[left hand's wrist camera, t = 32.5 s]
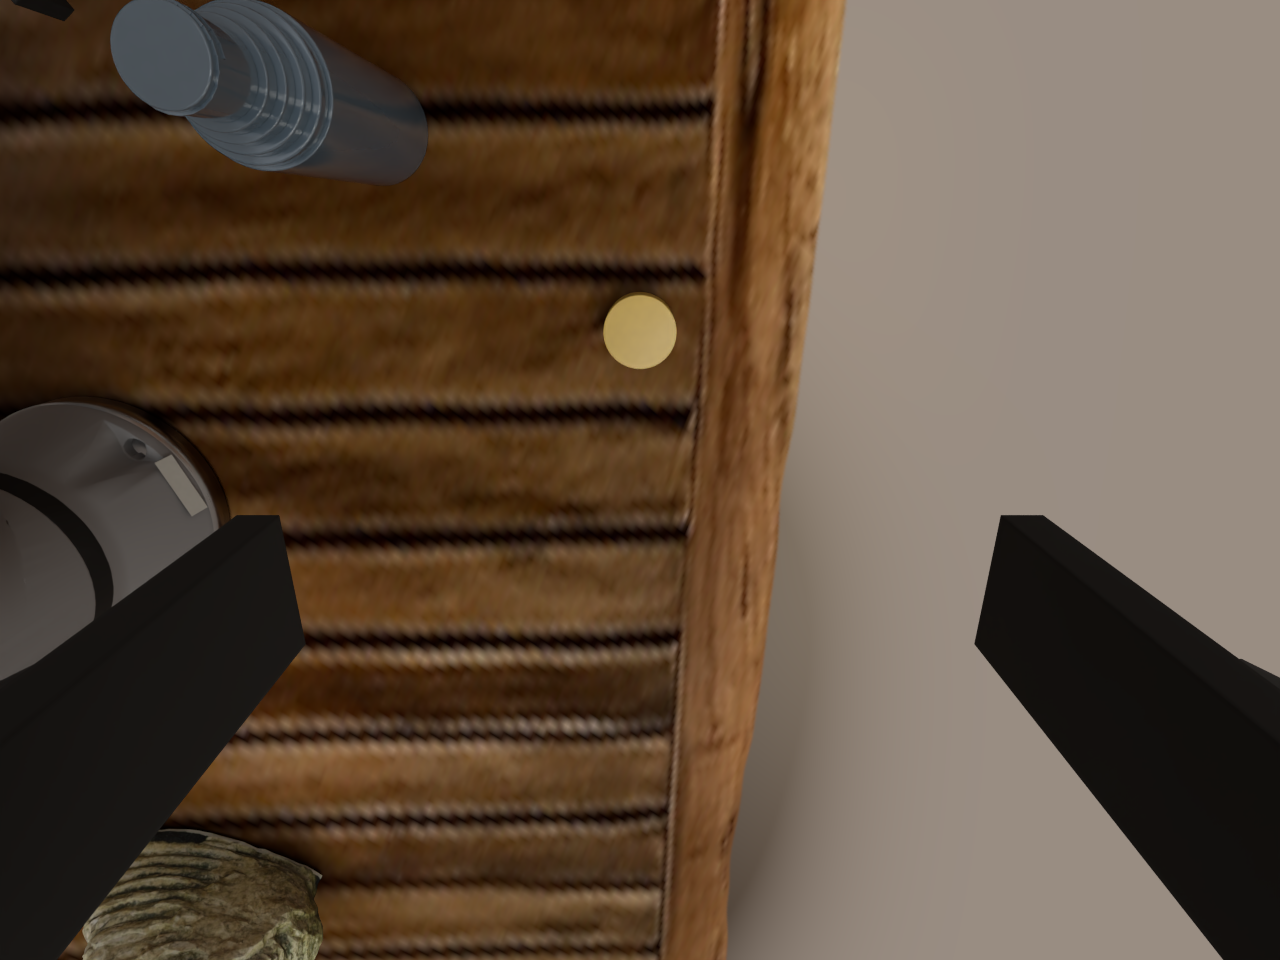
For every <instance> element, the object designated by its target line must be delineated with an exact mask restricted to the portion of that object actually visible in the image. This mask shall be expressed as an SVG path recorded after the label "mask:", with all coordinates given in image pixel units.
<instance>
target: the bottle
mask: <svg viewBox="0 0 1280 960" xmlns="http://www.w3.org/2000/svg"><path fill="white" fill-rule="evenodd" d="M110 44H111V52H112V57H113V60H114V63H115V66H116V68H117V70H118V72H119V74H120V76H121V78H122V79H123V81H124V82H125V84H126V85H127V86H128V87H129V88H130V90H131V91H132V92H133V93H134V94H135V95H136V96H137V97H139V98H140V99H141V100H143V101H144V102H146V103H147V104H149V105H150V106H152V107H153V108H154V109H156V110H158V111H161V112H163V113H166V114H168V115H174V116H183V117H184V116H185V117H186V118H187V119H188V121H189V122H190V123H191V125H192V126H193V128H194V129H195V130H196V131H197V132H198V134H199V135H200V136H201V137H202V138H203V139H204V140H205V141H206V142H207V143H208V144H209V145H211V146H212V147H213V148H214V149H216V150H217V151H218V152H220V153H222V154H223V155H225V156H227V157H228V158H230V159H231V160H233V161H235V162H237V163H239V164H241V165H243V166H246V167H249V168H252V169H256V170H262V171H269V172H276V173H284V174H292V175H300V176H307V177H315V178H323V179H330V180H338V181H346V182H354V183H361V184H369V185H377V186H387V185H393V184H397V183H399V182H401V181H403V180H405V179H407V178H408V177H409V176H411V175H412V174H413V173H414V172H415V171H416V170H417V168H418V167H419V165H420V164H421V162H422V160H423V158H424V156H425V152H426V149H427V143H428V127H427V121H426V117H425V114H424V111H423V109H422V106H421V104H420V102H419V101H418V99H417V97H416V96H415V95H414V93H413V92H412V91H411V90H410V88H409V87H408V86H407V85H406V84H404V83H403V82H402V81H401V80H400V79H398V78H397V77H395V76H393V75H392V74H390V73H388V72H387V71H385V70H383V69H381V68H380V67H378V66H376V65H375V64H373V63H371V62H369V61H368V60H366V59H364V58H363V57H361V56H359V55H357V54H356V53H354V52H352V51H351V50H349V49H347V48H345V47H344V46H342V45H340V44H339V43H337V42H335V41H333V40H332V39H330V38H328V37H327V36H325V35H323V34H322V33H320V32H318V31H316V30H315V29H313V28H311V27H310V26H308V25H306V24H304V23H303V22H301V21H299V20H298V19H296V18H294V17H292V16H291V15H289V14H287V13H286V12H284V11H282V10H280V9H278V8H276V7H274V6H272V5H270V4H268V3H265V2H262V1H258V0H214V1H211V2H209V3H207V4H205V5H203V6H201V7H199V8H198V9H196V10H192V9H191V8H190V7H188V6H186V5H183V4H181V3H179V2H177V1H175V0H133V1H131V2H129V3H128V4H126V5H125V6H124V7H123V8H122V9H121V10H120V11H119V13H118V14H117V16H116V18H115V20H114V22H113V25H112V29H111V38H110Z"/></svg>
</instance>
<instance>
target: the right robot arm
mask: <svg viewBox="0 0 1280 960" xmlns="http://www.w3.org/2000/svg"><path fill="white" fill-rule="evenodd" d="M12 2H13V3H14V4H16V5H19V6H22V7H24V8H27V9H30V10H33V11H36V12H39V13H42V14H45V15H48V16H51V17H53V18H56V19H59V20H62V21H65V20H66V19H67V18H68V17H69V16H70V14H71V13H72V12H73V11H74V9H73V8H72V7H71V5H70V4H69V3H68V2H67V1H66V0H12Z"/></svg>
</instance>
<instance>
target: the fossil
mask: <svg viewBox="0 0 1280 960" xmlns="http://www.w3.org/2000/svg"><path fill="white" fill-rule="evenodd" d="M321 877H322V875H321V874H319V873H318V872H316V871H314V870H313V869H311V868H310V867H308V866H306V865H302V864H299V863H297V862H295V861H293V860H291V859H288V858H286V857H283V856H280V855H278V854H275V853H273V852H270V851H268V850H266V849H259V848H256V847H254V846H251V845H249V844H247V843H245V842H242V841H239V840H235V839H231V838H228V837H224V836H220V835H217V834H213V833H208V832H203V831H198V830H190V829H165V830H159V831H158V832H157V833H156V834H155V836H154V837H153V838H152V839H151V841H150V842H149V843H148V845H147V846H146V847H145V848H144V850H143V851H142V852H141V853H140V855H139V856H138V857H137V859H136V860H135V861H134V862H133V864H132V865H131V866H130V867H129V869H128V870H127V871H126V872H125V874H124V875H123V876H122V878H121V879H120V880H119V881H118V883H117V884H116V885H115V886H114V888H113V889H112V890H111V891H110V893H109V894H108V895H107V897H106V898H105V899H104V900H103V902H102V903H101V904H100V905H99V907H98V908H97V909H96V911H95V912H94V913H93V914H92V916H91V917H90V918H89V919H88V921H87V922H86V923H85V924H84V929H83V930H82V931H83V934H84V937H85V939H86V941H87V943H88V945H87V947H86V949H85V952H84V955H83V956H82V957H83V958H84V959H83V960H314V959H315V957H316V955H317V953H318V950H319V947H320V944H321V942H322V940H323V926H322V923H321V920H320V918H319V914H318V907H317V905H316V903H315V901H314V897H315V895H316V891H317V885H318V883H319V881H320V879H321Z"/></svg>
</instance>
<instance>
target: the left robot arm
mask: <svg viewBox="0 0 1280 960" xmlns="http://www.w3.org/2000/svg"><path fill="white" fill-rule="evenodd" d="M304 645H305V639H304V634H303V629H302V624H301V620H300V615H299V610H298V605H297V600H296V595H295V590H294V586H293V581H292V576H291V571H290V566H289V561H288V556H287V551H286V547H285V542H284V537H283V532H282V527H281V522H280V517H279V515H237V516H235V517H234V518H233V519H231V520H230V517H229V510H228V506H227V502H226V499H225V496H224V493H223V490H222V488H221V486H220V484H219V482H218V480H217V478H216V476H215V474H214V473H213V471H212V469H211V468H210V466H209V465H208V463H207V462H206V461H205V459H204V458H203V457H202V456H201V454H200V453H199V452H198V451H197V450H196V449H195V448H194V447H193V446H192V444H191V443H190V442H189V441H187V440H186V439H185V438H184V437H183V436H182V435H181V434H180V433H178V432H177V431H176V430H174V429H173V428H172V427H170V426H169V425H168V424H166V423H164V422H163V421H161V420H160V419H158V418H156V417H155V416H153V415H151V414H149V413H147V412H145V411H143V410H141V409H138V408H136V407H134V406H131V405H128V404H125V403H122V402H118V401H115V400H111V399H105V398H99V397H88V396H74V397H65V398H60V399H55V400H51V401H48V402H45V403H41V404H38V405H35V406H32V407H29V408H26V409H23V410H20V411H17V412H15V413H13V414H11V415H9V416H8V417H6V418H5V419H3V420H1V421H0V960H57V959H58V957H59V956H60V955H61V954H62V952H63V951H64V950H65V949H66V947H67V946H68V945H69V944H70V942H71V941H72V940H73V938H74V937H75V936H76V935H77V933H78V932H79V931H80V930H81V928H82V927H83V926H84V924H85V923H86V922H87V921H88V919H89V918H90V917H91V916H92V914H93V913H94V912H95V911H96V909H97V908H98V907H99V905H100V904H101V903H102V902H103V900H104V899H105V898H106V897H107V895H108V894H109V893H110V891H111V890H112V889H113V888H114V886H115V885H116V884H117V883H118V881H119V880H120V879H121V878H122V876H123V875H124V874H125V872H126V871H127V870H128V869H129V867H130V866H131V865H132V864H133V862H134V861H135V860H136V859H137V857H138V856H139V855H140V853H141V852H142V851H143V850H144V848H145V847H146V846H147V845H148V843H149V842H150V841H151V839H152V838H153V837H154V836H155V834H156V833H157V832H158V831H159V829H160V828H161V827H162V826H163V824H164V823H165V822H166V820H167V819H168V818H169V817H170V815H171V814H172V813H173V812H174V810H175V809H176V808H177V806H178V805H179V804H180V803H181V801H182V800H183V799H184V798H185V796H186V795H187V794H188V793H189V791H190V790H191V789H192V787H193V786H194V785H195V784H196V782H197V781H198V780H199V779H200V777H201V776H202V775H203V773H204V772H205V771H206V770H207V768H208V767H209V766H210V765H211V763H212V762H213V761H214V760H215V758H216V757H217V756H218V754H219V753H220V752H221V751H222V749H223V748H224V747H225V746H226V744H227V743H228V742H229V740H230V739H231V738H232V737H233V735H234V734H235V733H236V732H237V730H238V729H239V728H240V727H241V725H242V724H243V723H244V721H245V720H246V719H247V718H248V716H249V715H250V714H251V713H252V711H253V710H254V709H255V707H256V706H257V705H258V704H259V702H260V701H261V700H262V699H263V697H264V696H265V695H266V694H267V692H268V691H269V690H270V688H271V687H272V686H273V685H274V683H275V682H276V681H277V680H278V678H279V677H280V676H281V675H282V673H283V672H284V671H285V669H286V668H287V667H288V666H289V664H290V663H291V662H292V661H293V659H294V658H295V657H296V655H297V654H298V653H299V652H300V650H301V649H302V648H303V647H304ZM975 645H976V647H977V648H978V649H979V650H980V652H981V653H982V654H983V655H984V657H985V658H986V659H987V661H988V662H989V663H990V664H991V666H992V667H993V668H994V669H995V671H996V672H997V673H998V675H999V676H1000V677H1001V678H1002V680H1003V681H1004V682H1005V683H1006V685H1007V686H1008V687H1009V688H1010V690H1011V691H1012V692H1013V693H1014V695H1015V696H1016V697H1017V699H1018V700H1019V701H1020V702H1021V704H1022V705H1023V706H1024V707H1025V709H1026V710H1027V711H1028V713H1029V714H1030V715H1031V716H1032V718H1033V719H1034V720H1035V721H1036V723H1037V724H1038V725H1039V726H1040V728H1041V729H1042V730H1043V732H1044V733H1045V734H1046V735H1047V737H1048V738H1049V739H1050V740H1051V742H1052V743H1053V744H1054V746H1055V747H1056V748H1057V749H1058V751H1059V752H1060V753H1061V754H1062V756H1063V757H1064V758H1065V760H1066V761H1067V762H1068V763H1069V765H1070V766H1071V767H1072V768H1073V770H1074V771H1075V772H1076V773H1077V775H1078V776H1079V777H1080V778H1081V780H1082V781H1083V782H1084V784H1085V785H1086V786H1087V787H1088V789H1089V790H1090V791H1091V792H1092V794H1093V795H1094V796H1095V798H1096V799H1097V800H1098V801H1099V803H1100V804H1101V805H1102V806H1103V808H1104V809H1105V810H1106V812H1107V813H1108V814H1109V815H1110V817H1111V818H1112V819H1113V820H1114V822H1115V823H1116V824H1117V826H1118V827H1119V828H1120V829H1121V831H1122V832H1123V833H1124V834H1125V836H1126V837H1127V838H1128V839H1129V841H1130V842H1131V843H1132V845H1133V846H1134V847H1135V848H1136V850H1137V851H1138V852H1139V853H1140V855H1141V856H1142V857H1143V859H1144V860H1145V861H1146V862H1147V864H1148V865H1149V866H1150V867H1151V869H1152V870H1153V871H1154V872H1155V874H1156V875H1157V876H1158V878H1159V879H1160V880H1161V881H1162V883H1163V884H1164V885H1165V886H1166V888H1167V889H1168V890H1169V891H1170V893H1171V894H1172V895H1173V897H1174V898H1175V899H1176V900H1177V902H1178V903H1179V904H1180V905H1181V907H1182V908H1183V909H1184V910H1185V912H1186V913H1187V914H1188V916H1189V917H1190V918H1191V919H1192V921H1193V922H1194V923H1195V924H1196V926H1197V927H1198V928H1199V929H1200V931H1201V932H1202V933H1203V935H1204V936H1205V937H1206V938H1207V940H1208V941H1209V942H1210V943H1211V945H1212V946H1213V947H1214V949H1215V950H1216V951H1217V952H1218V954H1219V955H1220V956H1221V957H1222V959H1223V960H1280V678H1279V677H1277V676H1275V675H1273V674H1271V673H1269V672H1267V671H1265V670H1263V669H1261V668H1259V667H1257V666H1255V665H1253V664H1251V663H1249V662H1247V661H1245V660H1243V659H1238V658H1237V657H1235V656H1234V655H1233V654H1231V653H1230V652H1229V651H1227V650H1226V649H1225V648H1223V647H1222V646H1221V645H1219V644H1218V643H1216V642H1215V641H1214V640H1212V639H1211V638H1210V637H1208V636H1207V635H1206V634H1204V633H1203V632H1201V631H1200V630H1199V629H1197V628H1196V627H1195V626H1193V625H1192V624H1191V623H1189V622H1188V621H1186V620H1185V619H1184V618H1182V617H1181V616H1180V615H1178V614H1177V613H1176V612H1174V611H1173V610H1171V609H1170V608H1169V607H1167V606H1166V605H1165V604H1163V603H1162V602H1161V601H1159V600H1158V599H1156V598H1155V597H1154V596H1152V595H1151V594H1150V593H1148V592H1147V591H1146V590H1144V589H1143V588H1141V587H1140V586H1139V585H1137V584H1136V583H1135V582H1133V581H1132V580H1130V579H1129V578H1128V577H1126V576H1125V575H1124V574H1122V573H1121V572H1120V571H1118V570H1117V569H1115V568H1114V567H1113V566H1111V565H1110V564H1109V563H1107V562H1106V561H1105V560H1103V559H1102V558H1101V557H1099V556H1098V555H1096V554H1095V553H1094V552H1092V551H1091V550H1090V549H1088V548H1087V547H1086V546H1084V545H1083V544H1081V543H1080V542H1079V541H1077V540H1076V539H1075V538H1073V537H1072V536H1071V535H1069V534H1068V533H1066V532H1065V531H1064V530H1062V529H1061V528H1060V527H1058V526H1057V525H1056V524H1054V523H1053V522H1052V521H1050V520H1049V519H1047V518H1046V517H1045V516H1043V515H1001V517H1000V522H999V527H998V532H997V537H996V542H995V547H994V552H993V556H992V561H991V566H990V571H989V576H988V581H987V586H986V590H985V595H984V600H983V605H982V610H981V615H980V620H979V624H978V629H977V634H976V639H975Z"/></svg>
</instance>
